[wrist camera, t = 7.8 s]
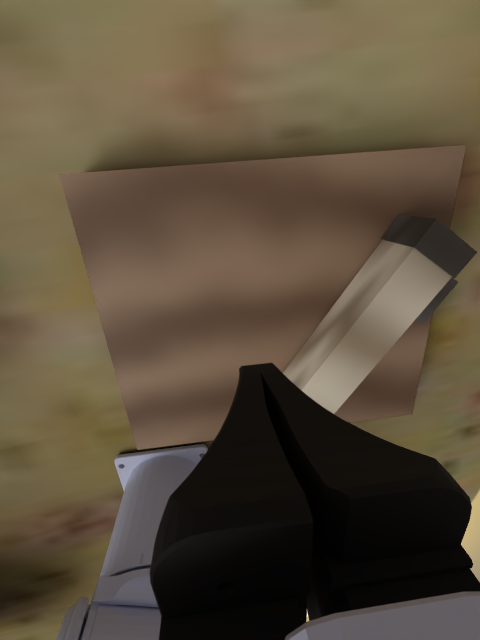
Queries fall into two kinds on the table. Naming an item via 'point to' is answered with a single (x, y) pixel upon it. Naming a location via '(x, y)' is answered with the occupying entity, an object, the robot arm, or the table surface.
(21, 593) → the table surface
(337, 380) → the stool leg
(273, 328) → the stool seat
